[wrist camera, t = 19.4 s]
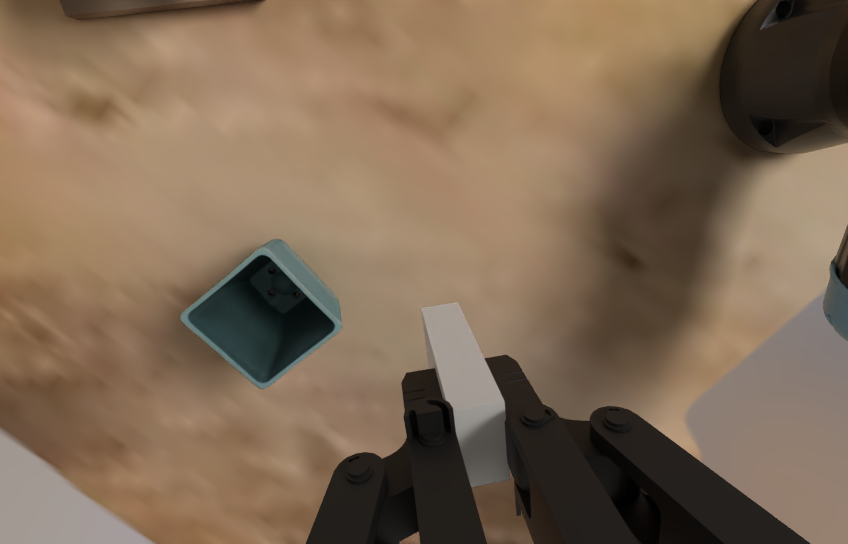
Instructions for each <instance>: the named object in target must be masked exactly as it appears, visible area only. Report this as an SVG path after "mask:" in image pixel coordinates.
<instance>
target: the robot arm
mask: <svg viewBox="0 0 848 544" xmlns="http://www.w3.org/2000/svg"><path fill="white" fill-rule="evenodd" d="M720 92H721V102H722V108H723V111H724V115H725V117H726V120H727V122H728V124H729V126H730V127H731V129H732V131H733V132H734V133H735V134H736V135H737V137H738V138H739V139H741V140H742V141H743V142H744V143H746V144H747V145H749V146H751V147H753V148H755V149H758V150H761V151H766V152H776V153H787V154H797V153H806V152H811V151H816V150H820V149H824V148H828V147H832V146H836V145H840V144H844V143H848V0H759V1H758V2H757V3H756V4H755V5H754V6H753V7H752V8H751V10H750V11H749V12H748V13H747V15H746V16H745V17H744V19H743V20H742V22H741V23H740V25H739V27H738V28H737V30H736V32H735V34H734V36H733V38H732V40H731V42H730V45H729V47H728V50H727V53H726V56H725V59H724V63H723V68H722V74H721V84H720ZM823 310H824V314H825V317H826V318H827V320H828V321H829V323H830V324H831V325H832V326H833V328H834V329H835V331H836V332H837V333H838V334H839V335H840V336H841V337H842V338H844V339H845V340H846V341H847V342H848V225H847V228H846V231H845V233H844V236H843V239H842V242H841V244H840V247H839V250H838V252H837V255H836V256H835V257H834V259H833V260H832V261H831V264H830V279H829V283H828V286H827V290H826V293H825V297H824V301H823ZM421 311H422V318H423V326H424V333H425V340H426V348H427V355H428V362H429V368H430V369H427V370H421V371H415V372H409V373H406V375H405V377H404V379H403V381H402V391H403V400H404V408H405V413H404V422H405V428H406V434H407V439H406V441H405V443H404V444H403V446H402V447H401V448H400V449H399V450H397V451H396V452H395V453H393V454H391V455H389V456H387V457H385V458H383V459H381V457H379V456H377V455H376V454H374V453H367V452H364V453H357V454H354V455H352V456H349V457H347V458H346V459H344V460H343V461H342V462H341V463H340V464H339V465H338V466H337V468H336V469H335V471H334V473H333V476H332V478H331V481H330V483H329V486H328V488H327V491H326V494H325V496H324V499H323V501H322V504H321V506H320V509H319V511H318V514H317V516H316V519H315V522H314V524H313V527H312V529H311V532H310V534H309V537H308V539H307V542H306V544H399V542H400V541H402V540H403V539H405V538H407V537H409V536H411V535H412V534H414V533H416V532H418V531H419V535H420V544H487V543H486V539H485V536H484V532H483V528H482V525H481V521H480V518H479V514H478V510H477V507H476V503H475V500H474V496H473V492H472V489H471V487H476V486H481V485H486V484H491V483H496V482H502V481H507V480H510V473H509V468H510V470H511V473H512V475H513V478H514V485H515V501H516V512H517V516H519V515H521V511H522V513H523V516H524V518H525V521H526V524H527V526H528V529H529V532H530V534H531V537H532V539H533V542H534V544H810V543H809V542H808V541H806V540H805V539H804V538H802V537H801V536H799V535H798V534H797V533H795V532H794V531H793V530H791V529H790V528H788V527H787V526H786V525H785V524H783V523H782V522H781V521H779V520H778V519H777V518H775V517H774V516H773V515H771V514H770V513H769V512H767V511H766V510H765V509H763V508H762V507H761V506H759V505H758V504H757V503H755V502H754V501H752V500H751V499H750V498H748V497H747V496H746V495H744V494H743V493H742V492H740V491H739V490H738V489H736V488H735V487H733V486H732V485H731V484H730V483H728V482H727V481H726V480H724V479H723V478H722V477H720V476H719V475H718V474H716V473H715V472H714V471H712V470H711V469H709V468H708V467H707V466H705V465H704V464H703V463H701V462H700V461H699V460H697V459H696V458H695V457H693V456H692V455H691V454H689V453H688V452H687V451H685V450H684V449H683V448H681V447H680V446H679V445H677V444H676V443H675V442H673V441H672V440H671V439H669V438H668V437H666V436H665V435H664V434H662V433H661V432H660V431H658V430H657V429H656V428H654V427H653V426H652V425H650V424H649V423H648V422H646V421H645V420H644V419H642V418H641V417H640V416H638V415H637V414H635V413H633V412H632V411H630V410H628V409H624V408H621V407H613V406H607V407H602V408H598V409H597V410H595V411H594V412H593V413H592V415H591V417H590V421H578V420H568V419H563V418H560V417H559V416H558V414H557V413H556V412H555V411H554V410H553V409H552V408H550V407H548V406H545V405H543V404H542V403H541V401H540V399H539V398H538V396H537V394H536V393H535V391H534V389H533V388H532V386H531V384H530V383H529V381H528V380H527V378H526V376H525V374H524V373H523V372H522V369H521V368H520V366H519V364H518V363H517V361H515V360H514V359H512V358H511V357H509V356H508V355H502V356H496V357H490V358H485V359H484V357H483V355H482V352H481V350H480V348H479V346H478V344H477V342H476V340H475V338H474V336H473V333H472V331H471V329H470V327H469V325H468V323H467V321H466V319H465V317H464V314H463V312H462V310H461V308H460V306H459V304H458V302H455V303H449V304H442V305H436V306H430V307H424V308H421ZM520 508H521V509H520Z"/></svg>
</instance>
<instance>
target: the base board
mask: <svg viewBox="0 0 848 544" xmlns="http://www.w3.org/2000/svg"><path fill="white" fill-rule="evenodd" d="M60 1H61V4H62V7H63V10H64V12H65V15H66V16H68V17H71V18H74V19H77V20H82V19H91V18H100V17H109V16H118V15H127V14H137V13H146V12H155V11H164V10H173V9H182V8H191V7H200V6H209V5H218V4H227V3H236V2H245V1H255V0H60Z"/></svg>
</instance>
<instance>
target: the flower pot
mask: <svg viewBox="0 0 848 544" xmlns="http://www.w3.org/2000/svg"><path fill="white" fill-rule="evenodd" d="M270 268H274V269H275V272H270ZM271 290H272V291H274V292H275V294H274V295H271V294H270V291H271ZM295 292H298V293H299V296H298V297H295V296H294V293H295ZM180 320H181V321H182V322H183V323H184V324H185V325H186V326H187V327H188V328H189V329H190V330H192V331H193V332H194V333H195V334H196V335H198V336H199V337H200V338H201V339H202V340H203V341H205V342H206V343H207V344H208V345H209V346H210V347H211V348H213V349H214V350H215V351H216V352H217V353H219V354H220V355H221V356H222V357H223V358H224V359H225V360H226V361H228V362H229V363H230V364H231V365H232V366H233V367H234V368H236V369H237V370H238V371H239V372H240V373H241V374H243V375H244V376H245V377H246V378H247V379H248V380H249V381H250V382H251V383H253V384H254V385H255V386H257V387H258V388H260V389H265V388H268V387H269V386H271V385H272V384H273V383H274V382H276V381H277V380H278V379H279V378H281V377H282V376H283V375H284V374H286V373H287V372H288V371H289V370H291V369H292V368H293V367H294V366H295V365H297V364H298V363H299V362H301V361H302V360H303V359H304V358H306V357H307V356H308V355H310V354H311V353H312V352H314V351H315V350H316V349H318V348H319V347H320V346H321V345H323V344H324V343H326V342H327V341H328V340H329V339H331V338H332V337H333V336H335V335H336V334H337V333H339V332H340V331H341V329H342V320H341V312H340V306H339V302H338V299H337V298H336V296H335V294H334V293H333V292H332V291H331V290H330V289H329V288H328V287H327V286H326V285H325V284H324V283H323V282H322V281H321V279H320V278H319V277H318V276H317V275H316V274H315V273H314V272H313V271H312V270H311V269H310V268H309V267H308V266H307V265H306V264H305V263H304V262H303V261H302V260H301V259H300V258H299V256H298V255H297V254H296V253H295V252H294V251H293V250H292V249H291V248H290V247H289V246H288V245H287V244H286V243H285V242H284V241H282V240H280V239H274V240H271V241H270V242H268V243H266V244H265V245H263V246H262V247H260V248H258V249H257V250H256V251H254V252H253V253H252V254H251V255H250V256H249V257H248V258H247V259H245V260H244V261H243V262H242V263H241V264H240V265H238V266H237V267H236V268H235V269H234V270H233V271H231V272H230V273H229V274H228V275H227V276H225V277H224V278H223V279H222V280H221V281H219V282H218V283H217V284H216V285H215V286H213V287H212V288H211V289H210V290H209V291H208V292H206V293H205V294H204V295H203V296H202V297H200V298H199V299H198V300H197V301H195V302H194V303H193V304H192V305H190V306H189V307H188V308H187V309H185V310H184V311H183V312H182V313H181V315H180Z"/></svg>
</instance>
